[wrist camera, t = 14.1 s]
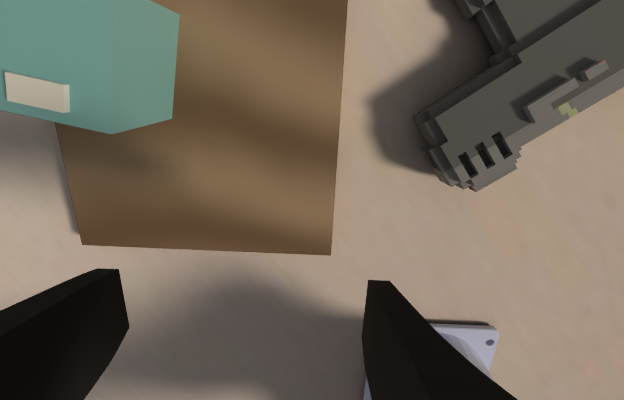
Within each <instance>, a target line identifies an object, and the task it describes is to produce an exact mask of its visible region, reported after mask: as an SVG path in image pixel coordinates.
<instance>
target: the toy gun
mask: <svg viewBox="0 0 624 400" xmlns="http://www.w3.org/2000/svg"><path fill="white" fill-rule="evenodd" d="M455 1H456V3H457V5H458V7H459V9H460V11H461V12H462V14H463V16H464V18H465V20H468V19H469V18H472V17H473V16H475V17H476V19H477V21H478V23H479V25H480V27H481V28H482V30H483V32H484V34H485V36H486V37H487V39H488V41H489V43H490V45H491V47H492V48H493V50H494V52H495V54H494V55H493V56H492V57H490V58H489V59H487V60H488V61H489V63H490V65H491V66H490V67H488V68H487V69H485V70H484V71H482V72H481V73H479V74H478V75H476V76H474V77H473V78H471V79H470V80H468V81H467V82H465V83H464V84H462V85H461V86H459V87H457V88H456V89H454V90H453V91H451V92H450V93H448V94H447V95H445V96H443V97H442V98H440V99H439V100H437V101H436V102H434V103H433V104H431V105H430V106H428V107H426V108H425V109H423V110H422V111H420V112H419V113H418V114H417V115H415V116H414V117H413V118H414V120H415V121H416V126H417V128H418V129H419V131H420V133H421V134H422V136H423V138H424V139H425V141H426V145H425V146H423V147H421V150H422V152H423V153H424V155H425V157H426V158H427V160H428V162H429V163H430V165H431V167H432V168H433V170H434V172H435V173H436V175H437V177H438V178H439V180H440V181H442V182H444V183H446V184H447V185H449V186H451V187H452V186H454V185H456V186H458V187H460V188H462V189H465V188H467V187H469V189H471V190H473V191H475V192H477V191H479V190H480V189H482V188H484V187H486V186H487V185H489V184H491V183H493V182H494V181H496V180H498V179H500V178H501V177H503V176H505V175H507V174H509V173H510V172H512V171H514V170H516V169H517V168H516V166H515V163H517V161H516V159H518V158H519V157H521V155H520V153H519V151H520V150H522V149H521V146H523V145H524V144H526V143H528V142H530V141H531V140H533V139H535V138H536V137H538V136H540V135H542V134H543V133H545V132H547V131H549V130H550V129H552V128H554V127H555V126H557V125H559V124H561V123H562V122H564V121H566V120H567V119H569V118H571V117H573V116H574V115H576V114H578V113H579V112H581V111H583V110H585V109H586V108H588V107H590V106H591V105H593V104H595V103H597V102H598V101H600V100H602V99H603V98H605V97H607V96H609V95H610V94H612V93H614V92H615V91H617V90H619V89H621V88H622V87H624V0H455Z"/></svg>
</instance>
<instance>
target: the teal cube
mask: <svg viewBox="0 0 624 400" xmlns="http://www.w3.org/2000/svg"><path fill="white" fill-rule="evenodd" d="M179 17H180V15H179V14H177V13H175V12H173V11H171V10H169V9H167V8H165V7H163V6H161V5H159V4H157V3H155V2H152V1H150V0H0V110H2V111H7V112H11V113H16V114H20V115H25V116H30V117H34V118H39V119H43V120H48V121H52V122H57V123H62V124H66V125H71V126H75V127H80V128H84V129H89V130H94V131H98V132H103V133H107V134H115V133H119V132H123V131H127V130H131V129H135V128H139V127H142V126H146V125H150V124H154V123H158V122H162V121H165V120H169V119H172V112H173V98H174V85H175V71H176V58H177V44H178V31H179Z"/></svg>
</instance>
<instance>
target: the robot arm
mask: <svg viewBox="0 0 624 400" xmlns="http://www.w3.org/2000/svg"><path fill="white" fill-rule="evenodd" d="M128 329H129V322H128V317H127V311H126V306H125V301H124V295H123V290H122V284H121V279H120V274H119V269H95V270H92V271H89V272H87V273H84V274H82V275H79V276H77V277H74V278H72V279H70V280H67V281H65V282H63V283H61V284H59V285H56V286H54V287H52V288H50V289H47V290H45V291H43V292H41V293H39V294H36V295H34V296H32V297H30V298H28V299H25V300H23V301H21V302H19V303H17V304H14V305H12V306H10V307H8V308H6V309H3V310H1V311H0V400H84V399H85V397H86V396H87V395H88V393H89V392H90V390H91V389H92V388H93V386H94V385H95V383H96V382H97V380H98V379H99V378H100V376H101V375H102V373H103V372H104V371H105V369H106V368H107V366H108V365H109V363H110V362H111V360H112V359H113V357H114V355H115V353H116V351H117V350H118V348H119V346H120V344H121V342H122V340H123V339H124V337H125V335H126V333H127V331H128ZM489 339H490V340H489ZM498 339H499V332H498V330H497V329H496V328H495V327H493V326H480V325H456V324H433V323H428V322H427V321H426V320H425V319H424V318H423V317H422V316H421V315H420V314H419V312H418V311H417V310H416V309H415V308H414V307H413V306H412V305H411V304H410V303H409V302H408V301H407V300H406V298H405V297H404V296H403V295H402V294H401V293H400V292H399V291H398V290H397V288H396V287H395V286H394V285H393V284H392V283H391V282H390V281H379V280H368V287H367V296H366V305H365V313H364V322H363V331H362V344H363V354H364V363H365V371H366V379H365V387H364V395H363V400H517V399H516V398H515V397H513V396H512V395H511V394H509V393H508V392H507V391H505V390H504V389H503V388H502V387H500V386H499V385H498V384H497V383H495V381H494V380H493V378H492V376H491V374H490V373H489V370H490V366H491V363H492V359H493V356H494V353H495V349H496V346H497V342H498ZM487 340H489V341H487Z"/></svg>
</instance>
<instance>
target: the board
mask: <svg viewBox="0 0 624 400" xmlns="http://www.w3.org/2000/svg"><path fill="white" fill-rule="evenodd" d="M150 1H152V2H155V3H157V4H159V5H161V6H163V7H165V8H167V9H169V10H171V11H173V12H175V13H177V14H179V15H180V17H179V31H178V44H177V58H176V71H175V85H174V98H173V112H172V119H169V120H165V121H162V122H158V123H154V124H150V125H146V126H142V127H139V128H135V129H131V130H127V131H123V132H119V133H115V134H107V133H103V132H98V131H94V130H89V129H84V128H80V127H75V126H71V125H66V124H62V123H57V122H55V125H56V130H57V134H58V139H59V143H60V148H61V152H62V157H63V161H64V166H65V170H66V175H67V179H68V184H69V188H70V193H71V197H72V202H73V206H74V211H75V215H76V220H77V224H78V229H79V233H80V238H81V242H82V245H98V246H121V247H145V248H168V249H192V250H215V251H239V252H262V253H286V254H309V255H331V244H332V229H333V214H334V199H335V184H336V169H337V154H338V139H339V124H340V109H341V94H342V79H343V64H344V49H345V33H346V18H347V3H348V0H150Z"/></svg>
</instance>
